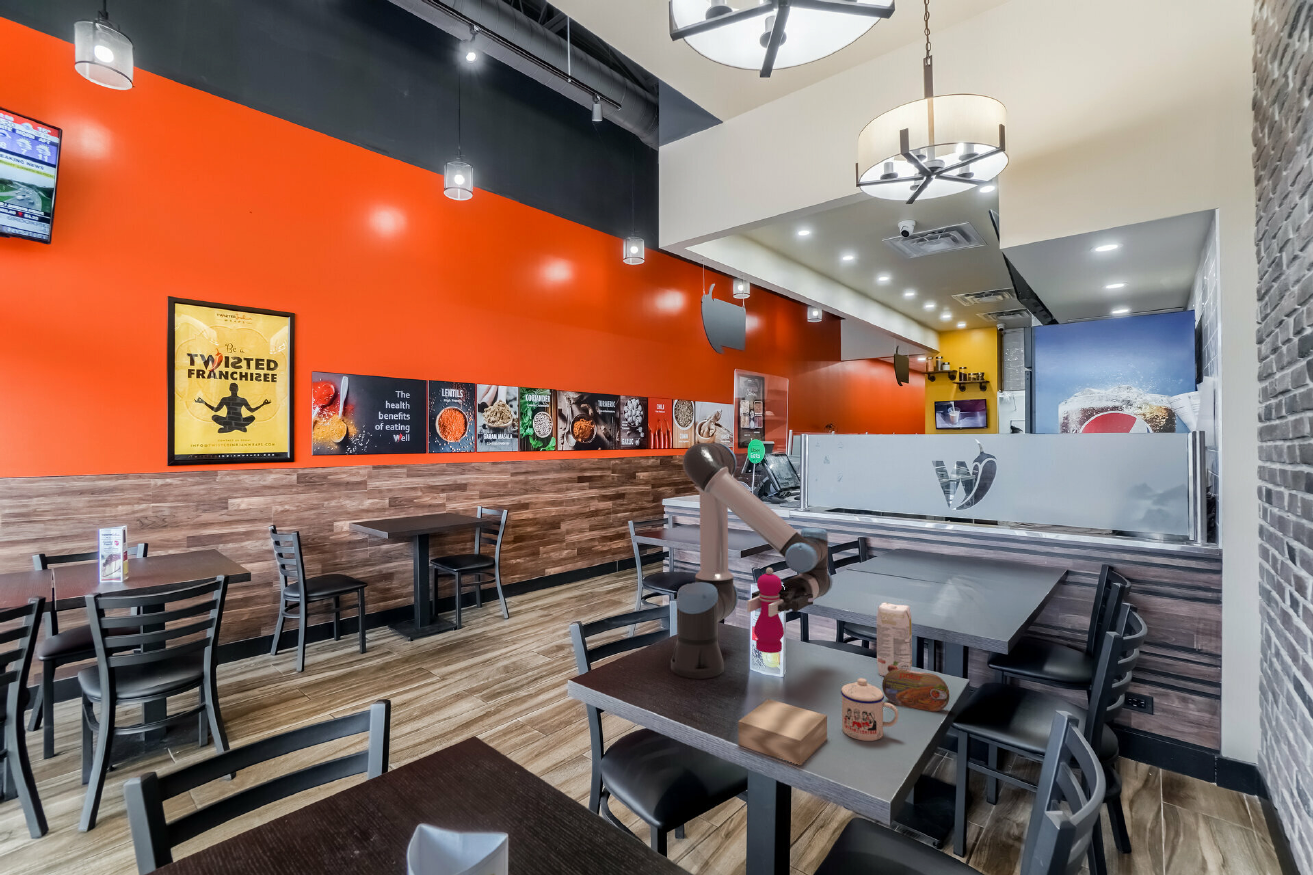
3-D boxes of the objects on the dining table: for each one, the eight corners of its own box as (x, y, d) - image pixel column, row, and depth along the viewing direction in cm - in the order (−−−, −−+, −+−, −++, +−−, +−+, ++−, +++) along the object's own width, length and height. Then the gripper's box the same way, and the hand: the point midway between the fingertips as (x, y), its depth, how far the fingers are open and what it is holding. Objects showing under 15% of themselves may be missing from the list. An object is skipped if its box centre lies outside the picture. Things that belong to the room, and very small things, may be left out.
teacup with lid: (838, 736, 130) (837, 683, 131) (844, 719, 139) (843, 669, 139) (897, 748, 125) (896, 692, 125) (899, 730, 133) (899, 677, 134)
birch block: (738, 744, 127) (738, 720, 127) (768, 720, 138) (768, 698, 138) (800, 765, 118) (800, 740, 118) (827, 738, 129) (826, 715, 130)
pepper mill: (784, 645, 149) (785, 565, 150) (782, 655, 143) (783, 571, 143) (755, 642, 151) (756, 563, 152) (752, 652, 144) (753, 569, 145)
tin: (882, 702, 148) (881, 668, 148) (883, 697, 151) (883, 664, 151) (949, 715, 141) (949, 679, 141) (949, 709, 144) (949, 674, 144)
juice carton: (908, 681, 161) (908, 611, 161) (875, 675, 165) (875, 606, 166) (913, 672, 167) (912, 605, 168) (881, 667, 172) (880, 600, 172)
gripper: (831, 610, 156) (794, 631, 137) (769, 598, 167) (726, 617, 148) (832, 581, 156) (794, 599, 137) (769, 571, 167) (726, 587, 148)
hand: (759, 608), depth 143 cm, fingers closed on pepper mill, 5 cm apart
